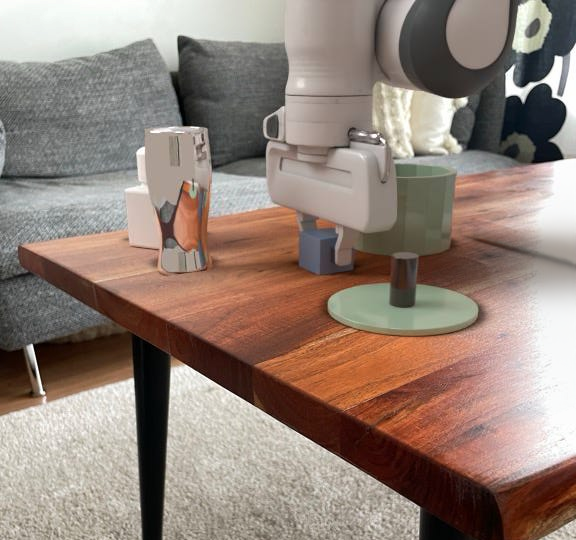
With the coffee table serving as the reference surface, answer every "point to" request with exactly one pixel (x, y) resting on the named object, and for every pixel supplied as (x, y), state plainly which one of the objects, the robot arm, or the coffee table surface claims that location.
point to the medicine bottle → (141, 210)
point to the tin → (417, 213)
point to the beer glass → (180, 195)
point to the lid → (403, 304)
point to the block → (320, 251)
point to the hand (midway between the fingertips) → (325, 258)
